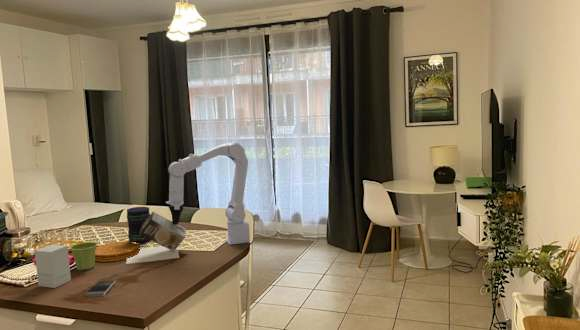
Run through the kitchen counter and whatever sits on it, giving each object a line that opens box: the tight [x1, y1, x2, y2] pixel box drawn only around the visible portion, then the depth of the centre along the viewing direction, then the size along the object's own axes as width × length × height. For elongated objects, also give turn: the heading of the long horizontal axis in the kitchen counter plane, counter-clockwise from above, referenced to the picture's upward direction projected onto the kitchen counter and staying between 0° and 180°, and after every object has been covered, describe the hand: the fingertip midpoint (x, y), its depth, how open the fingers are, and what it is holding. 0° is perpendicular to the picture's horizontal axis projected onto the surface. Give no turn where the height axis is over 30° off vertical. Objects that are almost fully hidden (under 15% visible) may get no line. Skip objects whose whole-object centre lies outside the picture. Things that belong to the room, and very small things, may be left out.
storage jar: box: [126, 206, 152, 245], centre depth 195 cm, size 10×10×15 cm
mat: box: [125, 245, 180, 265], centre depth 177 cm, size 20×18×1 cm
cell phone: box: [85, 280, 116, 298], centre depth 142 cm, size 6×11×1 cm, turn 3°
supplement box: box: [34, 244, 72, 289], centre depth 148 cm, size 7×7×13 cm
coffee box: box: [139, 211, 187, 251], centre depth 177 cm, size 9×6×16 cm
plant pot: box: [69, 241, 98, 271], centre depth 163 cm, size 9×9×9 cm
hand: (175, 223), depth 179 cm, fingers closed, pressing on coffee box
